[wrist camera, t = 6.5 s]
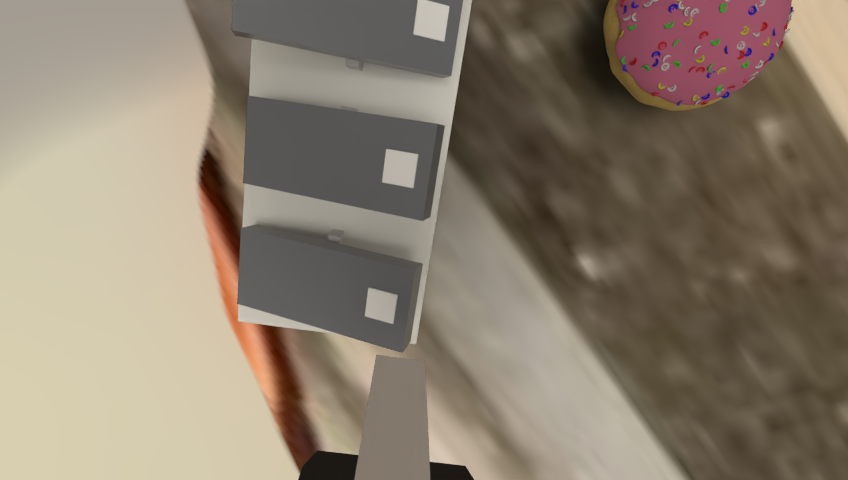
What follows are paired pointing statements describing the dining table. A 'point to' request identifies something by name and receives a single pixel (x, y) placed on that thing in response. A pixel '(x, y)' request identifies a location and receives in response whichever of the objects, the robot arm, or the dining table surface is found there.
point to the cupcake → (691, 47)
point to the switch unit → (362, 92)
